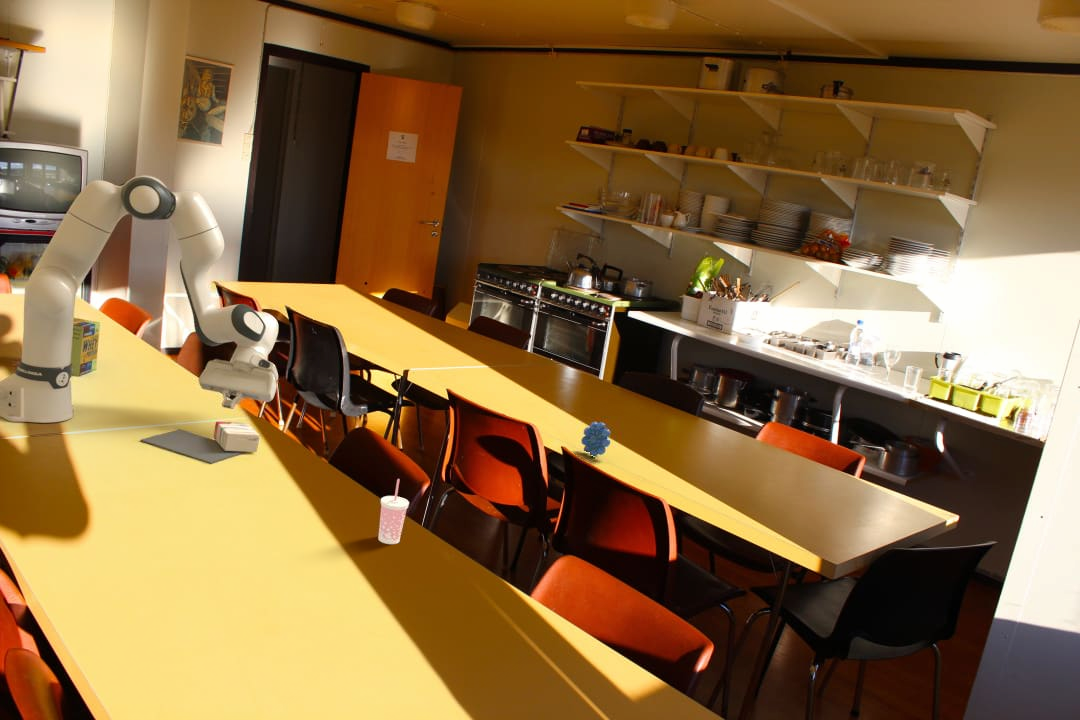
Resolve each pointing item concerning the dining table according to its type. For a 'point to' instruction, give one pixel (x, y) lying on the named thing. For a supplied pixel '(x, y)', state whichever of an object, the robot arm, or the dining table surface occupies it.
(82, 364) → the protein box
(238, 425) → the ink box
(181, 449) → the mat
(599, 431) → the grapes
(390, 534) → the beverage cup
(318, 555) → the dining table surface
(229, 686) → the dining table surface
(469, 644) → the dining table surface
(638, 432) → the dining table surface
